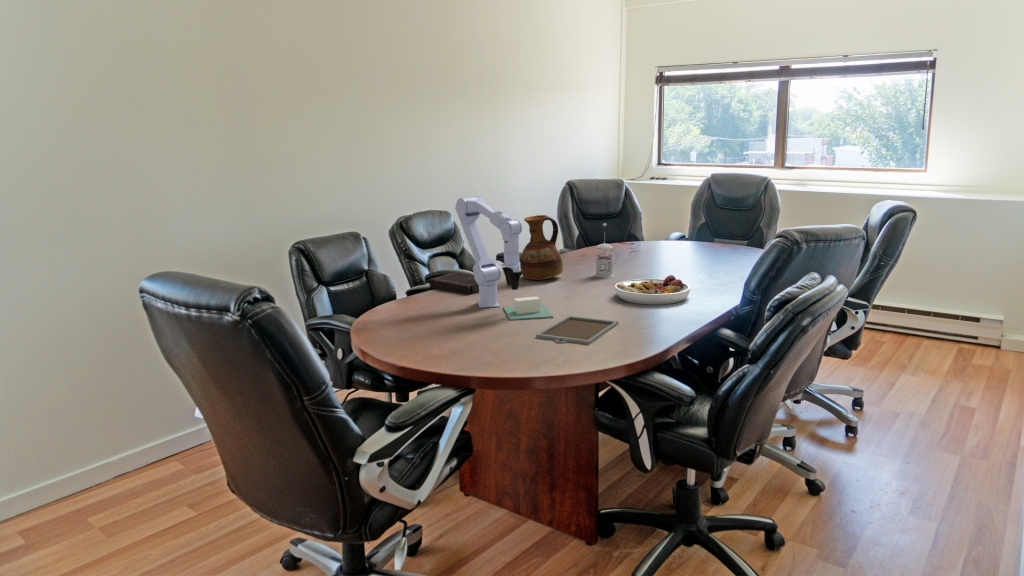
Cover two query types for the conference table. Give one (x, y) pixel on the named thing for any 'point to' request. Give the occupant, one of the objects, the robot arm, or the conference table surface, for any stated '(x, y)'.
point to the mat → (528, 314)
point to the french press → (604, 261)
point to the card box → (526, 305)
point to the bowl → (653, 290)
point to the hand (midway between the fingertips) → (512, 287)
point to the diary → (456, 283)
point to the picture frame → (577, 330)
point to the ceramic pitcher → (541, 251)
